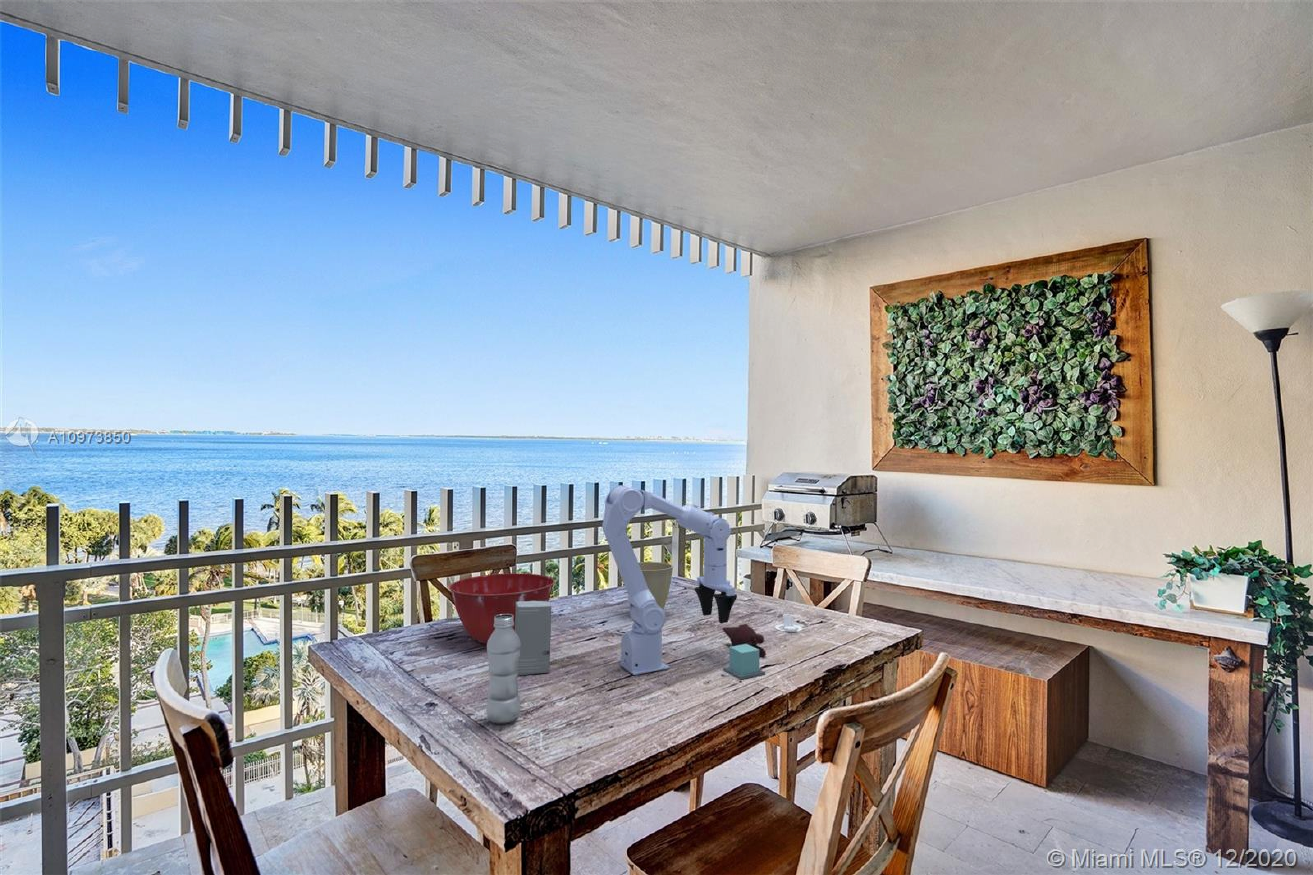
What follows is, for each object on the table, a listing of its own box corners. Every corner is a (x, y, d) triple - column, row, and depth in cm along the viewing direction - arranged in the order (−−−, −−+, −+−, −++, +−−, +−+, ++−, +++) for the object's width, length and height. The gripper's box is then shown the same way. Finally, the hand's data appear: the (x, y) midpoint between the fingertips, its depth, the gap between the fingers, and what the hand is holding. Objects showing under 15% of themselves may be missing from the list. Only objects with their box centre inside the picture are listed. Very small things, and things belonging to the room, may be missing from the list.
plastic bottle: (523, 712, 121) (523, 611, 121) (516, 728, 114) (517, 621, 114) (490, 713, 121) (491, 611, 121) (481, 728, 114) (482, 621, 114)
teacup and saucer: (796, 636, 173) (796, 621, 173) (769, 631, 177) (769, 617, 177) (806, 628, 181) (806, 614, 181) (780, 624, 185) (780, 610, 185)
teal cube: (742, 675, 140) (742, 653, 140) (729, 668, 144) (729, 646, 144) (759, 671, 142) (759, 649, 142) (746, 664, 147) (746, 643, 147)
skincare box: (514, 676, 140) (515, 607, 140) (513, 666, 147) (513, 600, 147) (551, 673, 142) (552, 605, 143) (548, 663, 149) (549, 598, 150)
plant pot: (681, 614, 193) (681, 564, 194) (656, 626, 181) (656, 572, 181) (642, 608, 201) (642, 559, 202) (615, 618, 189) (616, 567, 189)
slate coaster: (740, 679, 139) (740, 677, 139) (723, 670, 145) (723, 667, 145) (765, 674, 142) (765, 672, 142) (747, 665, 148) (747, 662, 148)
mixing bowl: (432, 636, 170) (432, 580, 171) (522, 618, 189) (523, 568, 190) (476, 662, 149) (477, 599, 150) (574, 639, 168) (574, 583, 168)
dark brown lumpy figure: (711, 622, 162) (752, 641, 150) (730, 611, 167) (772, 628, 155) (714, 646, 164) (755, 666, 152) (733, 634, 168) (775, 653, 156)
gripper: (745, 568, 149) (745, 624, 149) (713, 558, 162) (712, 610, 162) (721, 570, 146) (721, 627, 146) (690, 560, 159) (690, 613, 158)
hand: (715, 618), depth 153 cm, fingers open, 7 cm apart
